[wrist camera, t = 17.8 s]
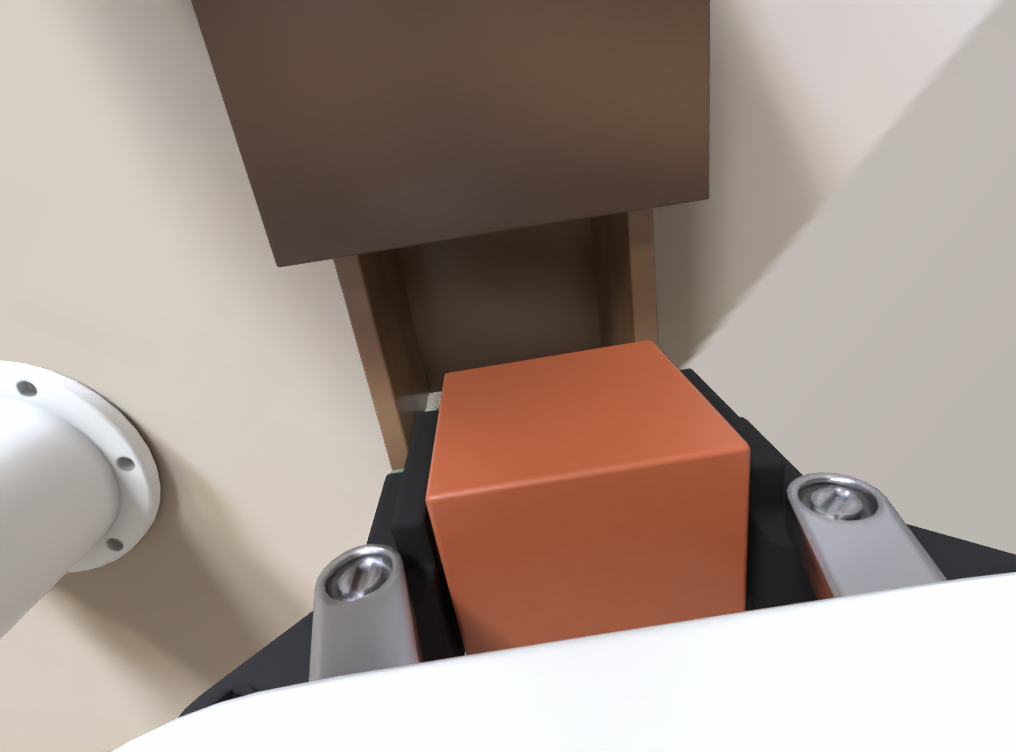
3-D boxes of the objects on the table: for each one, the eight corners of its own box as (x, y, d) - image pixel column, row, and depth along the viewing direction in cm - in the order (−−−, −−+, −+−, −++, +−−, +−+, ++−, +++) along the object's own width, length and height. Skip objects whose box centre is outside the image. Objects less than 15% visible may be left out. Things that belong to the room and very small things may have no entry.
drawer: (636, 489, 29) (686, 599, 22) (435, 519, 30) (419, 637, 22) (613, 109, 22) (676, 87, 15) (343, 152, 22) (275, 153, 15)
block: (480, 537, 13) (480, 716, 9) (443, 371, 11) (422, 498, 7) (660, 508, 13) (745, 675, 9) (651, 337, 11) (754, 445, 7)
